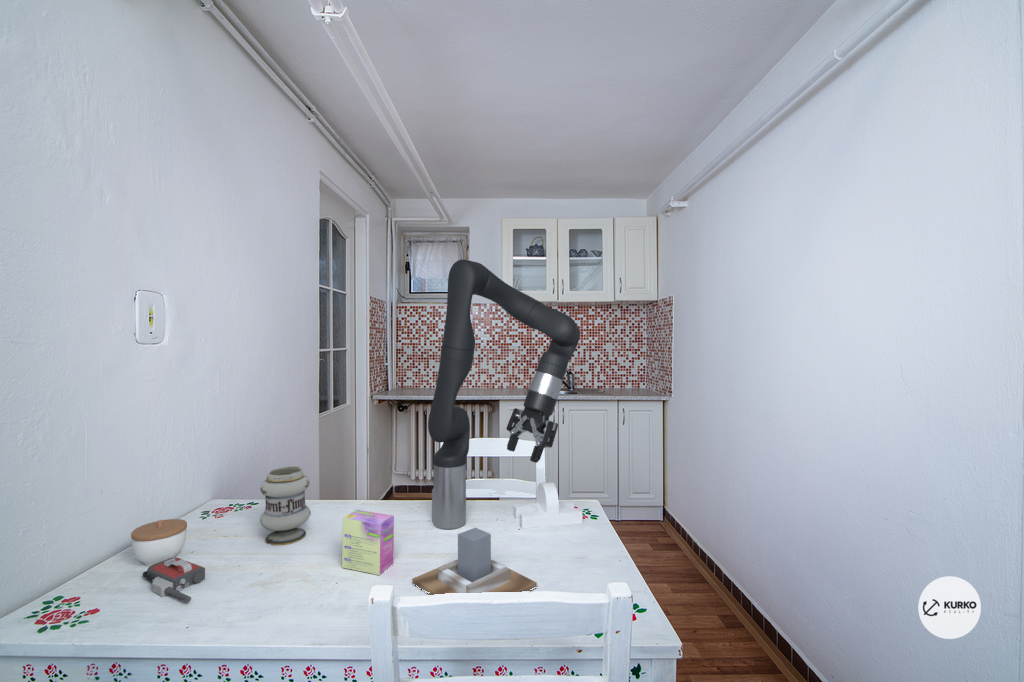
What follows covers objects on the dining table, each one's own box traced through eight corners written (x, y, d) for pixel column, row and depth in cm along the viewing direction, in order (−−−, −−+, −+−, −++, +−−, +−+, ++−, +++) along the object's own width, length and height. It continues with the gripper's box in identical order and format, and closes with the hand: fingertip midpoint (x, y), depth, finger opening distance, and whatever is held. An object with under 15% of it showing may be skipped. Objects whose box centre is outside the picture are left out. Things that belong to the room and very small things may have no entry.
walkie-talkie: (131, 584, 101) (183, 609, 92) (131, 564, 101) (183, 587, 92) (175, 567, 109) (228, 588, 100) (175, 548, 109) (228, 567, 100)
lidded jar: (182, 545, 119) (182, 509, 119) (191, 559, 112) (191, 520, 112) (128, 559, 112) (128, 520, 112) (133, 575, 104) (133, 533, 104)
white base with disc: (570, 512, 144) (570, 476, 144) (582, 524, 134) (582, 486, 134) (513, 517, 140) (513, 480, 140) (521, 530, 130) (522, 490, 130)
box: (394, 564, 110) (394, 514, 110) (379, 576, 104) (379, 523, 104) (357, 557, 113) (357, 509, 113) (341, 568, 108) (341, 517, 108)
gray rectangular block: (457, 580, 100) (457, 534, 100) (475, 572, 104) (475, 527, 104) (473, 589, 97) (473, 541, 97) (490, 580, 100) (490, 534, 100)
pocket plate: (412, 584, 101) (412, 566, 101) (475, 556, 114) (475, 541, 114) (471, 624, 87) (471, 604, 87) (536, 588, 99) (536, 570, 99)
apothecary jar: (249, 542, 121) (249, 473, 121) (287, 525, 132) (287, 462, 132) (283, 550, 117) (283, 479, 117) (320, 532, 128) (320, 466, 128)
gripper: (514, 383, 119) (492, 444, 117) (554, 395, 108) (531, 463, 106) (533, 391, 124) (513, 450, 121) (573, 403, 113) (552, 468, 111)
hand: (521, 456), depth 114 cm, fingers open, 8 cm apart
